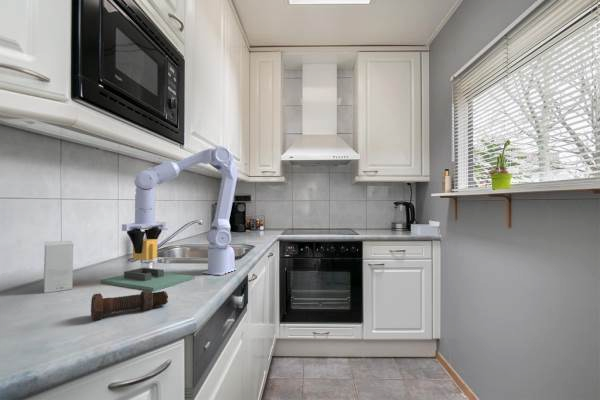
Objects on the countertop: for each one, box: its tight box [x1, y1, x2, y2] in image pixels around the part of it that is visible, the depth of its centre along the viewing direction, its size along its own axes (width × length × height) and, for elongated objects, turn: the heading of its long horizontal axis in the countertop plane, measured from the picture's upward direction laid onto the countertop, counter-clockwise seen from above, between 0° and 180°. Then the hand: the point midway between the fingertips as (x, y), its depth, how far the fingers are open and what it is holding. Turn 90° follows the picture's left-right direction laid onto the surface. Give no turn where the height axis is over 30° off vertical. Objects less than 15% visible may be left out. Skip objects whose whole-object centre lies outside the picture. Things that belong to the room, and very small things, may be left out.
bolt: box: [90, 290, 169, 322], centre depth 72 cm, size 6×5×15 cm
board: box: [100, 267, 195, 292], centre depth 100 cm, size 16×22×3 cm
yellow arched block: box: [132, 238, 158, 261], centre depth 100 cm, size 4×7×6 cm, turn 66°
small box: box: [43, 240, 74, 294], centre depth 91 cm, size 8×6×13 cm
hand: (144, 252), depth 101 cm, fingers closed on yellow arched block, 4 cm apart
